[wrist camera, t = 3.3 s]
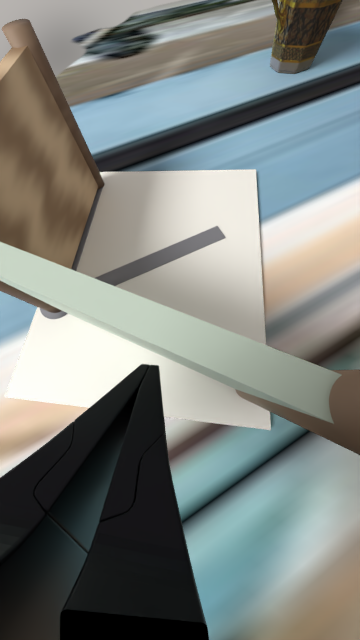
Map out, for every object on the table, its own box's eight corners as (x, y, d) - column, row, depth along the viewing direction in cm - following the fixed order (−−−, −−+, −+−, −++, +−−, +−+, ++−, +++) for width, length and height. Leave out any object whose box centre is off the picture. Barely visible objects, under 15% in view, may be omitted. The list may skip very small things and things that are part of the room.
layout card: (268, 428, 13) (271, 430, 12) (9, 396, 15) (3, 397, 14) (254, 173, 21) (256, 168, 21) (89, 175, 23) (87, 171, 23)
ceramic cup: (298, 44, 30) (347, -108, 21) (336, 66, 27) (413, -100, 18) (233, 66, 29) (252, -81, 20) (264, 92, 26) (304, -67, 17)
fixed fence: (65, 314, 17) (-152, 211, 6) (42, 312, 17) (-204, 211, 6) (107, 179, 22) (31, 5, 12) (90, 180, 22) (0, 9, 12)
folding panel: (65, 317, 16) (-114, 237, 7) (77, 299, 17) (-74, 201, 7) (256, 404, 13) (436, 490, 3) (263, 379, 13) (438, 391, 4)
